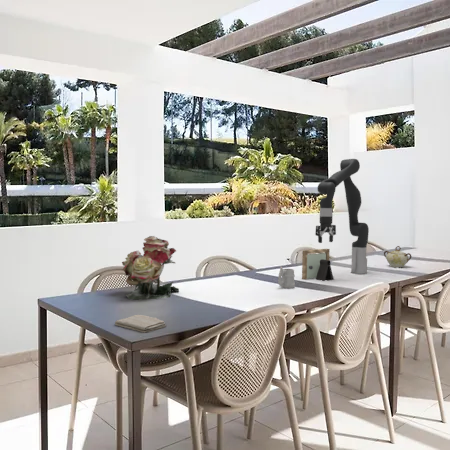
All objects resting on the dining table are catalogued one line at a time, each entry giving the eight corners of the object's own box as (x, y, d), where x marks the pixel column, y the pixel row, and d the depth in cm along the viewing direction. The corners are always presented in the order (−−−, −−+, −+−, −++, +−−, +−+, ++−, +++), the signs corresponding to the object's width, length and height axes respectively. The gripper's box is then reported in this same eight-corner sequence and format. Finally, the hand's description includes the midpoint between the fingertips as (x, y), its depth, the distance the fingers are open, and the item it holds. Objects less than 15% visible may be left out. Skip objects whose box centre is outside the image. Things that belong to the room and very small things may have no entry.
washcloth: (146, 334, 183) (146, 326, 182) (113, 326, 193) (113, 318, 193) (168, 327, 192) (168, 319, 192) (135, 320, 203) (135, 312, 203)
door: (323, 276, 311) (324, 253, 310) (326, 276, 308) (327, 253, 308) (305, 278, 303) (305, 254, 302) (308, 278, 301) (308, 254, 300)
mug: (297, 287, 275) (298, 265, 274) (283, 289, 267) (284, 267, 266) (287, 285, 281) (287, 264, 280) (273, 287, 273) (273, 266, 272)
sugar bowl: (414, 267, 356) (415, 246, 355) (407, 269, 345) (408, 248, 344) (387, 264, 369) (388, 244, 368) (379, 266, 357) (380, 245, 356)
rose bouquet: (126, 289, 264) (125, 233, 262) (180, 290, 263) (181, 234, 261) (113, 300, 238) (113, 237, 236) (174, 301, 237) (174, 238, 235)
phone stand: (323, 281, 296) (323, 261, 295) (315, 279, 301) (316, 259, 300) (333, 279, 301) (334, 259, 300) (326, 278, 306) (326, 258, 305)
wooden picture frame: (326, 276, 312) (327, 248, 311) (328, 276, 311) (329, 249, 309) (301, 278, 302) (302, 250, 301) (304, 279, 300) (304, 250, 299)
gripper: (330, 215, 305) (330, 241, 306) (312, 215, 298) (312, 242, 299) (339, 215, 299) (338, 242, 300) (321, 216, 291) (320, 243, 292)
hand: (325, 242), depth 299 cm, fingers open, 8 cm apart
